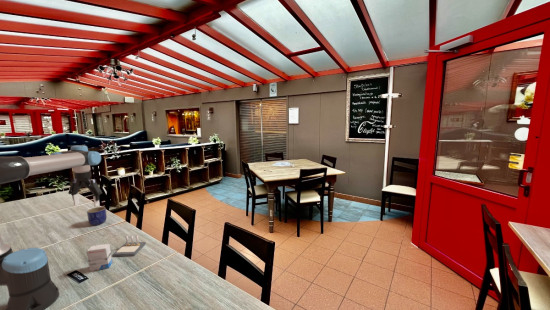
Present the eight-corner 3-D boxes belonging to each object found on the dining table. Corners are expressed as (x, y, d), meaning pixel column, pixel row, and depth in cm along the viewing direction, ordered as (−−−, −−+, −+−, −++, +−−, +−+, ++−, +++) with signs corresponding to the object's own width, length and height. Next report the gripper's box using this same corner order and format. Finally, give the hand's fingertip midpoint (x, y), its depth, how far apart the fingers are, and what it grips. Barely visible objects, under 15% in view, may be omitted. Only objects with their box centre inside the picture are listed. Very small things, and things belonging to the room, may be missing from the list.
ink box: (112, 262, 118) (110, 243, 116) (108, 268, 113) (105, 248, 112) (94, 265, 116) (91, 245, 114) (89, 271, 111) (86, 250, 109)
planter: (104, 225, 161) (102, 211, 159) (86, 227, 157) (84, 213, 155) (109, 219, 171) (107, 205, 169) (92, 221, 167) (90, 207, 165)
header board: (134, 255, 124) (133, 243, 123) (112, 256, 124) (111, 244, 122) (145, 244, 136) (144, 233, 135) (126, 244, 135) (124, 233, 134)
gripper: (107, 170, 131) (110, 203, 134) (70, 169, 134) (74, 202, 137) (95, 173, 124) (100, 208, 127) (57, 172, 126) (62, 206, 129)
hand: (87, 205), depth 132 cm, fingers open, 13 cm apart
